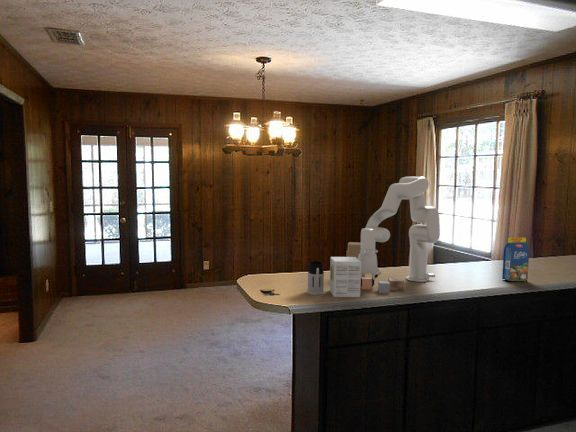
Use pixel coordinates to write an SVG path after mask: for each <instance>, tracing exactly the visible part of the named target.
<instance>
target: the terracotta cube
mask: <svg viewBox="0 0 576 432" xmlns="http://www.w3.org/2000/svg"><path fill="white" fill-rule="evenodd" d="M361 289H362V290H372V289H373V287H372V277H365V278H363V277H362V287H361Z"/></svg>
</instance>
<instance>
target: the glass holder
mask: <svg viewBox="0 0 576 432" xmlns="http://www.w3.org/2000/svg"><path fill="white" fill-rule="evenodd" d="M324 264H325V263H324V262H323V261H317V260H316V261H315V260H314V261H312V260H311V261H309V262H308V271H307V272H308V273H307V290H306V293H307V294H309V295H313V296H315V295H316V296H317V295H323V294H325V291H324V283H325V282H324V279H325V277H324V275H325V270H324V269H325V267H324Z"/></svg>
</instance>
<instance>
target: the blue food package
mask: <svg viewBox="0 0 576 432" xmlns="http://www.w3.org/2000/svg"><path fill="white" fill-rule="evenodd" d="M507 239H508V240H507V243H506V244H505V246H504V249H503V257H502V258H503V259H502V277H501V279H505V280H508V281H524V282H527V281H526V280H529V279H528V278H529V277H528V275H529V263H530V262H529V261H530V260H529V259H530V247H529V245H528V244H527V237H508V238H507Z"/></svg>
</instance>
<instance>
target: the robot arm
mask: <svg viewBox="0 0 576 432" xmlns="http://www.w3.org/2000/svg"><path fill="white" fill-rule="evenodd" d="M429 187H430V183H429V180H428V179H427V178H426V177H425V176H404V177H401V178H400V179H399V181H398V182H397V183H396V182H395V183H392V184H390V186H389V187H388V190H387V192H386V195H385V197H384V199H383V202H382V205H381V207H379V209H378V210H376V211H375V212H374V213H373V214H372V215H371V216H370V217H369V219H368V221H367V222H366V223H367V224H366V225H365V228H364V227H363V228H361V231H360V242H361V248H360V254H359V256H358V259H359V260H360V261H361V285H360V288H362V275H363V274H365V275H371V278H372V288H374V286H375V280H376V278H378V277H379V276H381V274H382V271H381V270H380V269H379V268H378V256H377V253H378V252H379V250H378V249H376V242H379V243H385V242H387V241H389V239H390V238H391V233H390V230H388V228H384V227H379V225H380V224H381V223H382V222H383V221H384V220H386V219H387V218H391V217H393V216H394V215H396V214H397V212H398V209H399V207H400V204H401V203H402V200H409V209H410V210H409V211H410V219H411V220H412V222H414V223H418V224H413V225H411V226H410V228H409V230H408V237H409V245H410V246H409V265H408V266H409V267H408V268H409V270H408V275H407V276H406V277H405V279H406V280H408V281H410V282H417V283H418V282H419V283H425V282H429V281H430V278H436V274H435V273H431V272H430V273H429V272H427V266H428V263H427V262H428V247H427V244H435V243H437V242H438V241H439V240H440V237H441V235H440V234H441V233H440V232H441V229H440V228H441V227H440V214H439V211H438V209H437V208H436V207H434V206H431V205H430V206H429V205H428V206H427V204H426V195H425V192H426V191H427V190H428V188H429ZM419 223H420V224H419ZM426 243H427V244H426Z"/></svg>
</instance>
